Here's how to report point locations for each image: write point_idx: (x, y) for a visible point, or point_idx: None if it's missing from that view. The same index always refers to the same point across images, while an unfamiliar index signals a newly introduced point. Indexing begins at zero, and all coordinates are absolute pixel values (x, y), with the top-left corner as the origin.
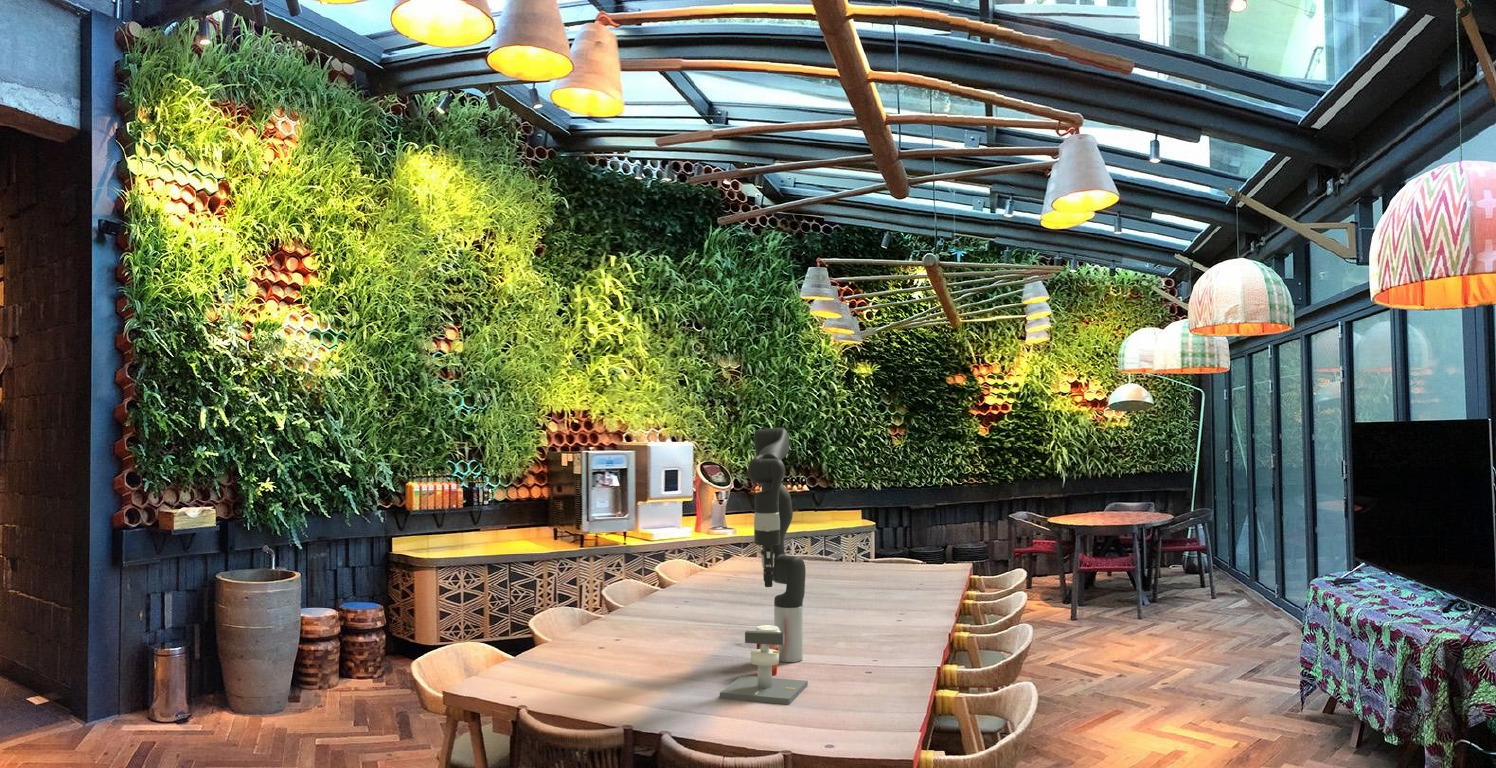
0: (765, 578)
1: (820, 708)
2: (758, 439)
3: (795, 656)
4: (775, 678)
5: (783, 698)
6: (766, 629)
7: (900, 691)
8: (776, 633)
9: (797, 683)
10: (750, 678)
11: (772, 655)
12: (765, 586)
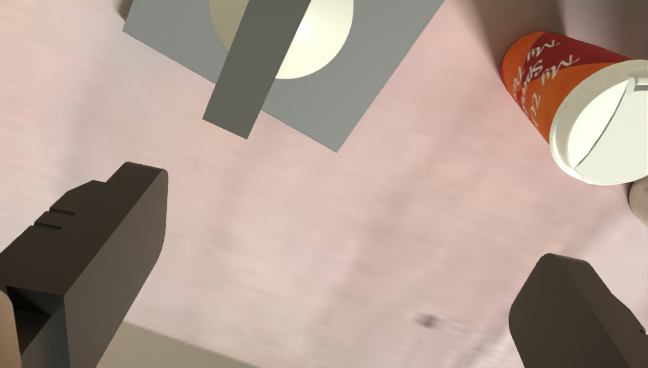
0: (62, 239)
1: (86, 107)
2: None
3: (639, 204)
4: (395, 59)
5: (129, 11)
6: (585, 114)
7: (237, 323)
8: (227, 90)
9: (310, 113)
10: None
11: (217, 30)
12: (130, 167)
